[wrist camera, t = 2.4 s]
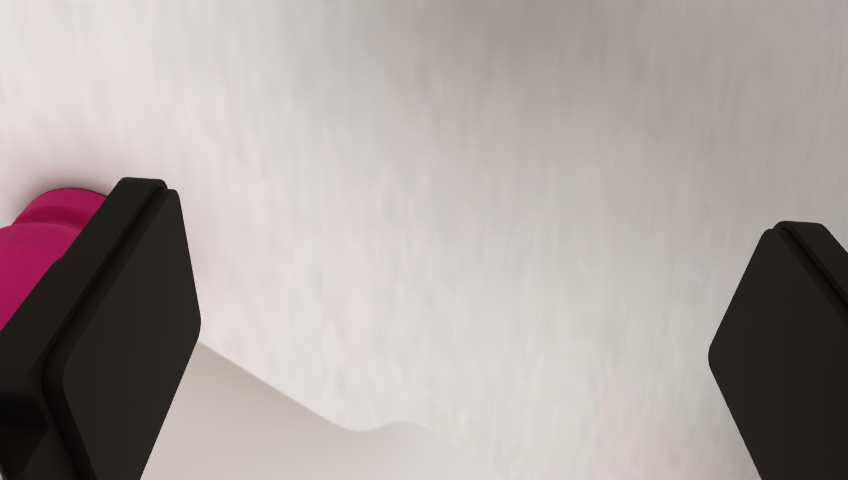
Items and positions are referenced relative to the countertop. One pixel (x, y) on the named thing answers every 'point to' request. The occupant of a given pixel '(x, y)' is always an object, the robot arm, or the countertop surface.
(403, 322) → the countertop surface
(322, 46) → the countertop surface
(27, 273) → the pepper mill
